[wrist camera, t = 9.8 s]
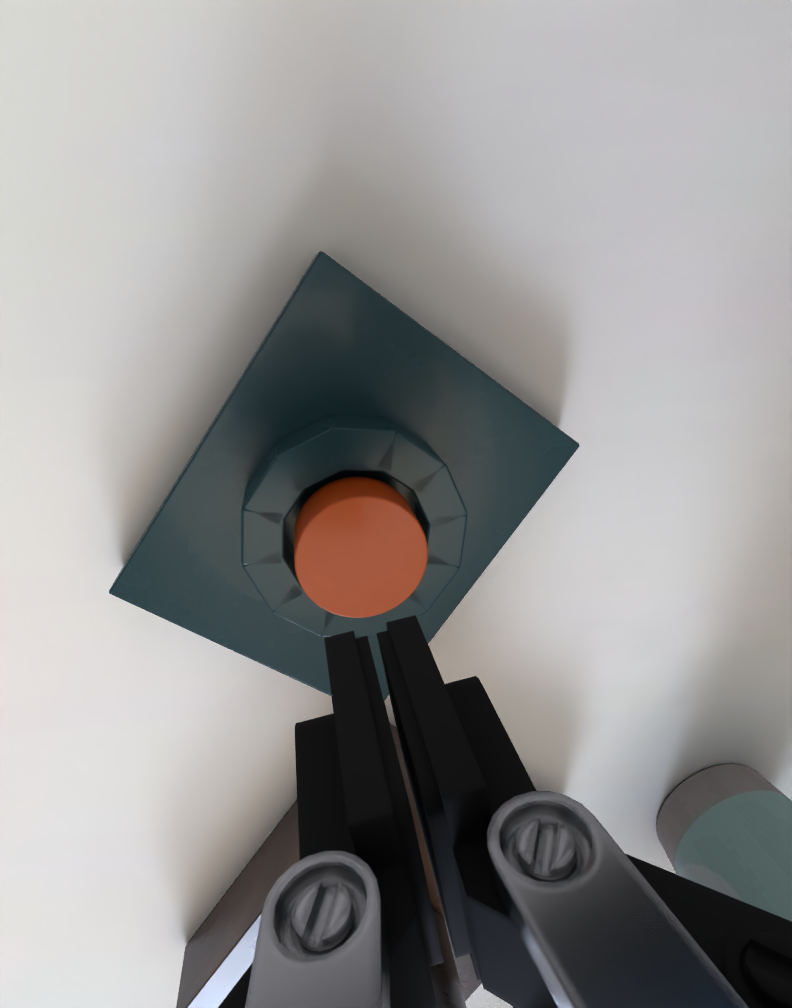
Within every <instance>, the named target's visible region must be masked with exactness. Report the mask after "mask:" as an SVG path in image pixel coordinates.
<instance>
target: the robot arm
mask: <svg viewBox="0 0 792 1008" xmlns="http://www.w3.org/2000/svg"><path fill="white" fill-rule="evenodd" d="M386 625H387V631H383V632H379V633H377V638H378V643H379V647H380V652H381V657H382V662H383V666H384V671H385V676H386V680H387V685H388V690H389V694H390V699H391V704H392V708H393V713H394V718H395V723H396V727H397V732H398V737H399V741H400V746H401V751H402V755H403V759H404V763H405V767H406V771H407V775H408V779H409V783H410V786H411V790H412V794H413V798H414V802H415V805H416V809H417V813H418V817H419V821H420V824H421V828H422V832H423V836H424V840H425V843H426V847H427V851H428V855H429V859H430V862H431V866H432V870H433V874H434V878H435V881H436V885H437V889H438V893H439V897H440V900H441V904H442V908H443V912H444V916H445V920H446V923H447V927H448V931H449V935H450V939H451V942H452V946H453V950H454V953H455V957H456V958H458V957H462V956H465V955H468V954H470V957H471V960H472V964H473V967H474V971H475V974H476V978H477V980H480V979H481V981H482V984H483V988H484V989H486V990H487V991H489V992H491V993H492V994H494V995H496V996H497V997H499V998H500V999H502V1000H504V1001H505V1002H507V1003H509V1004H510V1005H512V1006H513V1008H792V922H791V921H790V920H787V919H785V918H782V917H780V916H777V915H775V914H772V913H770V912H767V911H765V910H762V909H760V908H758V907H755V906H753V905H750V904H748V903H745V902H743V901H740V900H738V899H735V898H733V897H730V896H728V895H726V894H723V893H721V892H718V891H716V890H713V889H711V888H708V887H706V886H703V885H701V884H698V883H696V882H694V881H691V880H689V879H686V878H684V877H681V876H679V875H676V874H674V873H671V872H669V871H666V870H664V869H662V868H659V867H657V866H654V865H652V864H649V863H647V862H644V861H642V860H639V859H637V858H634V857H632V856H629V855H627V854H625V853H624V852H623V851H622V850H621V848H620V847H619V846H618V845H617V843H616V842H615V841H614V840H613V838H612V837H611V836H610V835H609V833H608V832H607V831H606V830H605V828H604V827H603V826H602V825H601V824H600V822H599V821H598V820H597V819H596V817H595V816H594V815H593V814H592V813H591V812H590V811H589V810H588V809H586V808H585V807H584V806H583V805H582V804H581V803H579V802H577V801H575V800H573V799H572V798H570V797H568V796H566V795H562V794H558V793H554V792H550V791H536V789H535V787H534V786H533V784H532V782H531V780H530V778H529V776H528V774H527V772H526V770H525V768H524V766H523V764H522V762H521V760H520V758H519V756H518V754H517V752H516V750H515V748H514V746H513V744H512V742H511V740H510V738H509V736H508V734H507V732H506V730H505V729H504V727H503V725H502V723H501V721H500V719H499V717H498V715H497V713H496V711H495V709H494V707H493V705H492V703H491V701H490V699H489V697H488V695H487V693H486V691H485V689H484V687H483V685H482V683H481V682H480V680H479V678H478V677H476V676H474V677H471V678H467V679H463V680H459V681H455V682H452V683H448V684H444V682H443V680H442V677H441V675H440V672H439V670H438V668H437V665H436V663H435V660H434V658H433V655H432V653H431V651H430V648H429V646H428V643H427V641H426V639H425V636H424V634H423V631H422V629H421V627H420V624H419V622H418V619H417V617H416V616H415V615H414V616H410V617H406V618H402V619H398V620H394V621H390V622H386ZM324 641H325V649H326V656H327V664H328V672H329V680H330V687H331V695H332V703H333V711H334V714H330V715H326V716H322V717H319V718H315V719H311V720H307V721H303V722H300V723H296V725H295V749H296V776H297V803H298V830H299V857H300V861H298V862H297V863H295V864H293V865H292V866H291V867H290V868H289V869H288V870H287V871H286V872H285V873H283V874H282V875H281V876H280V877H279V878H278V879H277V881H276V883H275V884H274V886H273V887H272V889H271V891H270V892H269V894H268V895H267V898H266V901H265V904H264V907H263V910H262V913H261V918H260V924H259V930H258V935H257V941H256V947H255V953H254V959H253V962H252V964H251V965H250V966H249V968H248V969H247V970H246V972H245V973H244V974H243V976H242V977H241V978H240V979H239V981H238V982H237V983H236V985H235V986H234V987H233V989H232V990H231V991H230V992H229V994H228V995H227V996H226V998H225V999H224V1000H223V1002H222V1003H221V1004H220V1005H219V1007H218V1008H435V1006H436V1004H437V1002H436V997H435V991H434V986H433V982H432V977H431V973H430V968H429V967H430V966H433V965H436V964H440V963H443V962H444V960H443V955H442V950H441V946H440V941H439V936H438V932H437V927H436V922H435V918H434V913H433V908H432V904H431V899H430V894H429V890H428V885H427V880H426V876H425V871H424V867H423V862H422V857H421V853H420V848H419V843H418V839H417V834H416V829H415V825H414V820H413V816H412V812H411V807H410V803H409V799H408V795H407V791H406V787H405V783H404V779H403V775H402V771H401V767H400V763H399V759H398V755H397V751H396V747H395V743H394V739H393V735H392V731H391V727H390V723H389V719H388V715H387V711H386V707H385V704H384V700H383V696H382V692H381V688H380V684H379V680H378V676H377V672H376V668H375V664H374V660H373V656H372V652H371V648H370V644H369V640H368V636H363V637H359V638H355V633H354V631H350V632H346V633H342V634H337V635H333V636H329V637H325V638H324Z"/></svg>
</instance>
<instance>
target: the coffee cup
mask: <svg viewBox="0 0 792 1008" xmlns="http://www.w3.org/2000/svg"><path fill="white" fill-rule="evenodd" d="M657 835H658V838H659V840H660V842H661V844H662V846H663V848H664V850H665V852H666V854H667V856H668V858H669V860H670V862H671V864H672V866H673V867H674V869H675V871H676V873H677V875H679V876H681V877H684V878H686V879H689V880H691V881H694V882H696V883H698V884H701V885H703V886H706V887H708V888H711V889H713V890H716V891H718V892H721V893H723V894H726V895H728V896H730V897H733V898H735V899H738V900H740V901H743V902H745V903H748V904H750V905H753V906H755V907H758V908H760V909H762V910H765V911H767V912H770V913H772V914H775V915H777V916H780V917H782V918H785V919H787V920H790V921H791V922H792V801H791V800H790V799H789V798H788V797H786V796H785V795H784V794H783V793H782V792H780V791H779V790H778V789H777V788H776V787H774V786H773V785H772V784H771V783H770V782H768V781H767V780H766V779H765V778H763V777H762V776H761V775H760V774H759V773H757V772H756V771H755V770H753V769H752V768H750V767H747V766H744V765H739V764H724V765H718V766H713V767H710V768H707V769H705V770H702V771H700V772H698V773H696V774H694V775H693V776H691V777H689V778H688V779H686V780H685V781H684V782H682V783H681V784H680V785H679V786H678V787H677V788H676V789H675V790H674V791H673V792H672V793H671V794H670V795H669V797H668V798H667V799H666V801H665V802H664V804H663V806H662V808H661V810H660V813H659V816H658V819H657Z"/></svg>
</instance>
